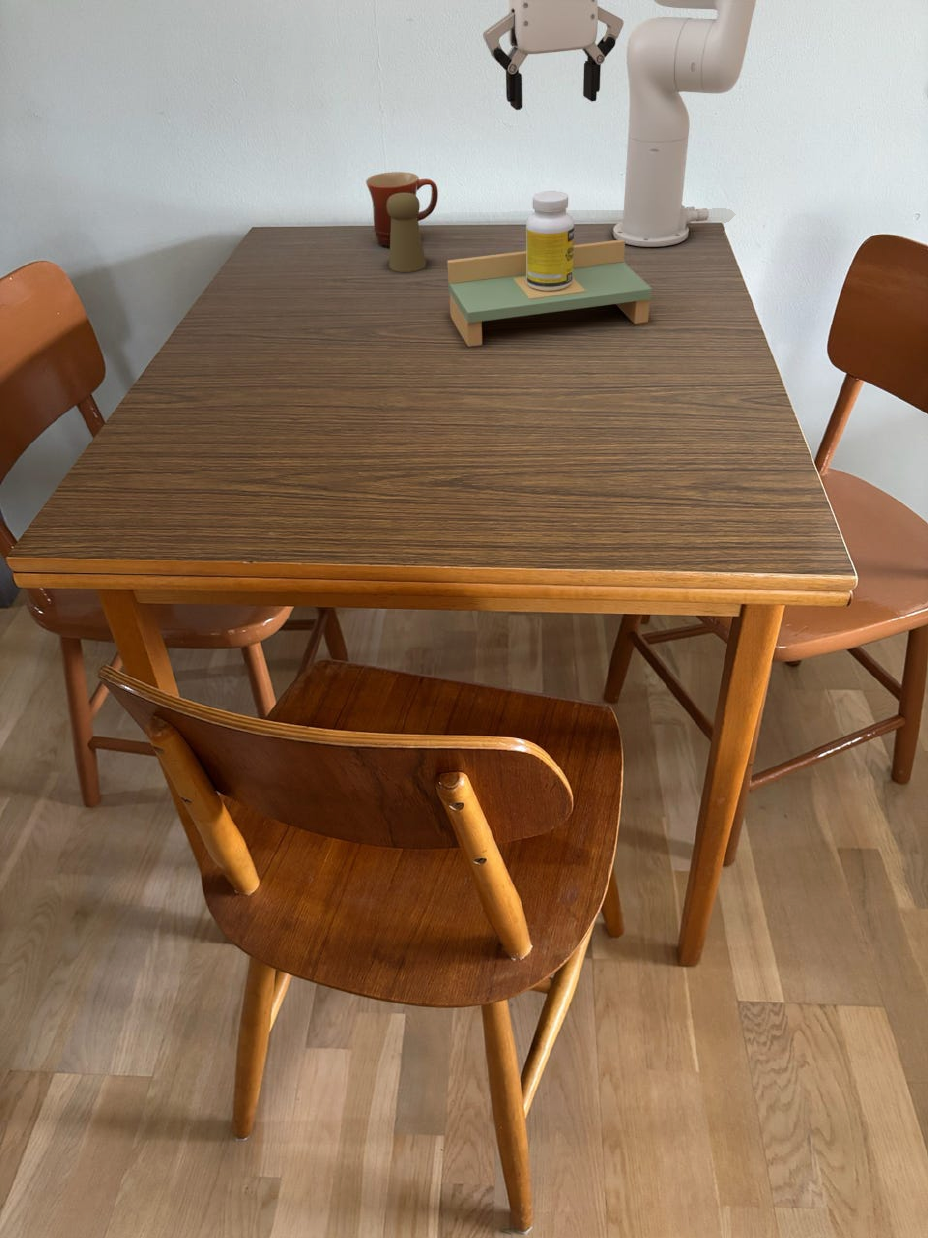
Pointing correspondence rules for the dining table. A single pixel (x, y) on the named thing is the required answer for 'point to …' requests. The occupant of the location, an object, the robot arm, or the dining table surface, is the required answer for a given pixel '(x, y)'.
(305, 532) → the dining table surface
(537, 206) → the pill bottle
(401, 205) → the pepper shaker
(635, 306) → the shelf
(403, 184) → the mug
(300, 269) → the dining table surface
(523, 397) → the dining table surface
